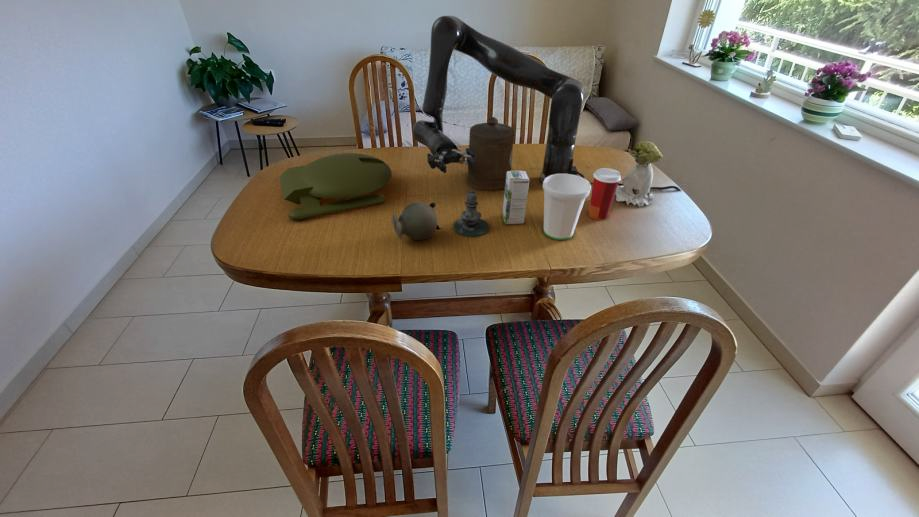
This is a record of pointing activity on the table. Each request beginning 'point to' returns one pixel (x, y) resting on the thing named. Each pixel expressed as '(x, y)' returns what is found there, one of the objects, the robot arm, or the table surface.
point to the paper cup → (603, 192)
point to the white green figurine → (639, 175)
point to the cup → (563, 204)
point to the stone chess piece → (471, 212)
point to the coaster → (478, 232)
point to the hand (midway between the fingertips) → (459, 167)
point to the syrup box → (515, 197)
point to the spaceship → (334, 184)
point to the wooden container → (490, 154)
